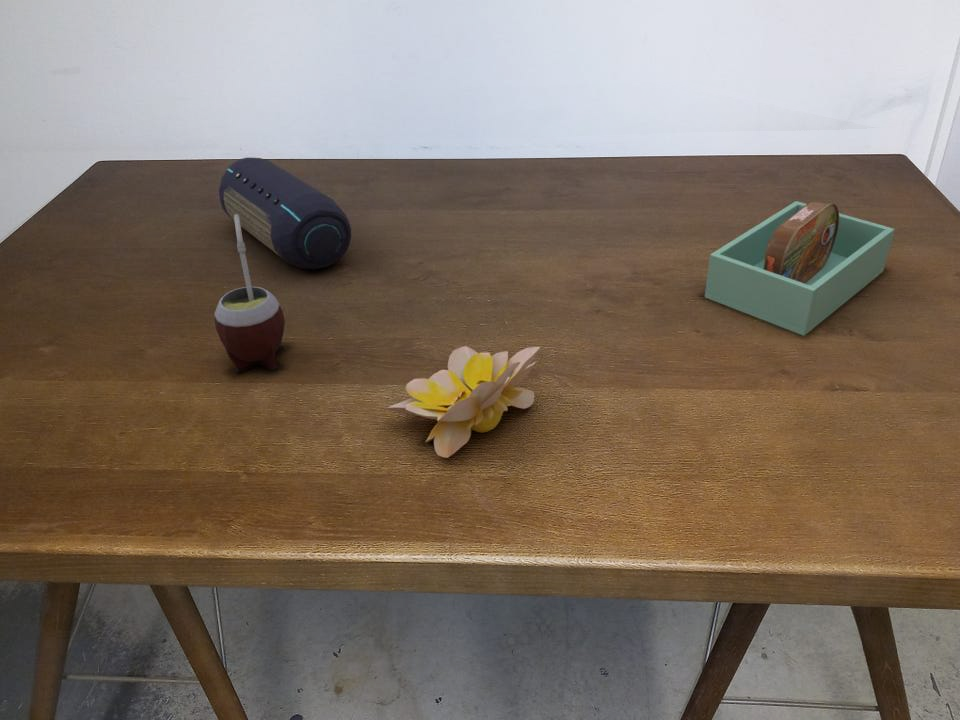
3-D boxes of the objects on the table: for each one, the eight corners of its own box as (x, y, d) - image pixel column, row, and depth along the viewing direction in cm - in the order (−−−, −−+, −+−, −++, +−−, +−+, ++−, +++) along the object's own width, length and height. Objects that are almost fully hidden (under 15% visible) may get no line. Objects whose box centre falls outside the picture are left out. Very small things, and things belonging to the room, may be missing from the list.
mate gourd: (252, 387, 85) (220, 260, 77) (209, 361, 90) (174, 238, 81) (308, 355, 90) (283, 232, 81) (264, 332, 94) (236, 212, 86)
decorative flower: (487, 343, 87) (493, 273, 80) (561, 408, 82) (575, 339, 74) (372, 411, 80) (367, 341, 73) (445, 487, 75) (448, 419, 67)
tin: (777, 307, 92) (790, 240, 88) (752, 298, 94) (763, 232, 89) (834, 258, 101) (848, 195, 96) (809, 251, 103) (822, 189, 98)
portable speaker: (218, 226, 119) (201, 160, 114) (280, 206, 124) (267, 142, 118) (296, 289, 102) (281, 216, 97) (364, 264, 107) (354, 193, 102)
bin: (788, 241, 107) (795, 200, 104) (883, 272, 100) (895, 228, 96) (704, 298, 96) (709, 254, 93) (803, 337, 89) (813, 290, 85)
